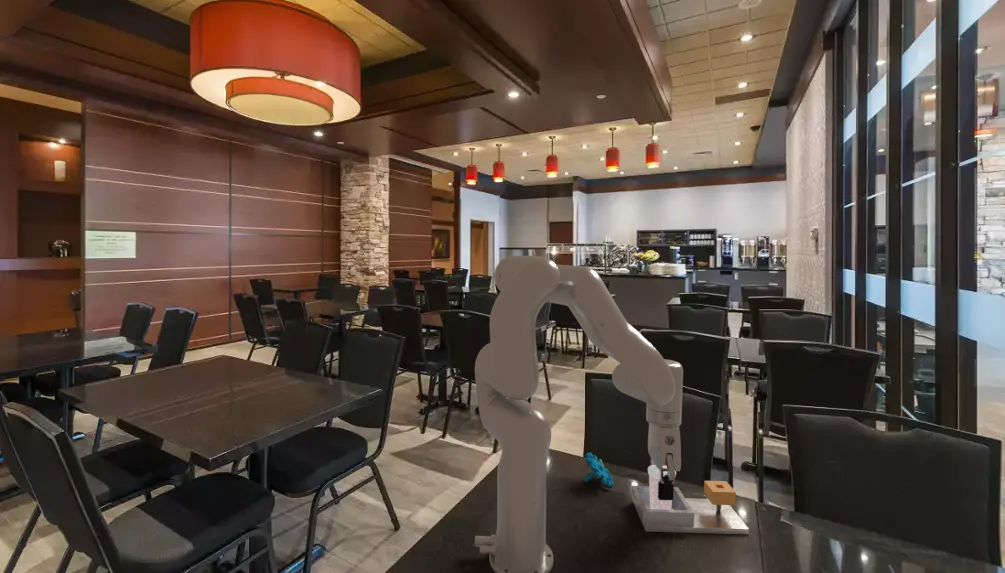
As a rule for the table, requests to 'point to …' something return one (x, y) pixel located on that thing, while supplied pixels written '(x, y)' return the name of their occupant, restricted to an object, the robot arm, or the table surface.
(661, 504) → the beverage cup
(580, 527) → the table surface
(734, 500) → the amber wooden brick
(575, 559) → the table surface
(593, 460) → the blue lobed piece
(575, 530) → the table surface
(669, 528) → the gray tray
